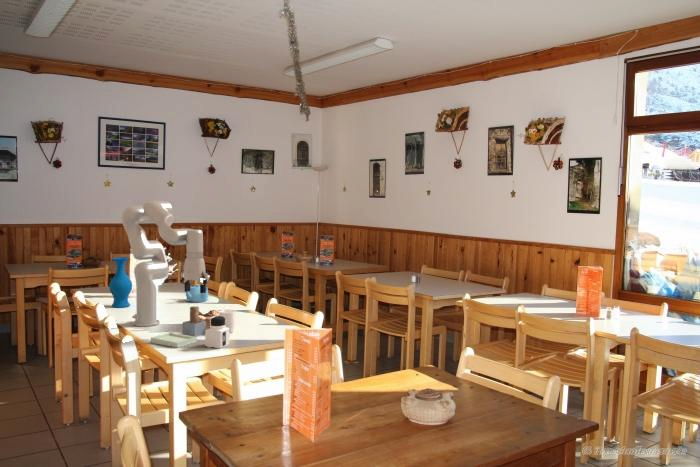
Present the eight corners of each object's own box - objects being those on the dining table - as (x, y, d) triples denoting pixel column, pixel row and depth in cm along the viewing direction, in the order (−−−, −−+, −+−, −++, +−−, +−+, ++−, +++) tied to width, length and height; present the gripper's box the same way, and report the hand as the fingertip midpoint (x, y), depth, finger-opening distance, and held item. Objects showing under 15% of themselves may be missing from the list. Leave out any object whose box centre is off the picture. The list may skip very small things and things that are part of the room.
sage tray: (150, 342, 269) (150, 337, 269) (170, 337, 279) (170, 332, 279) (177, 347, 261) (177, 342, 261) (196, 342, 272) (196, 337, 272)
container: (229, 344, 268) (229, 315, 267) (220, 348, 261) (220, 319, 260) (214, 343, 271) (214, 314, 270) (204, 347, 264) (205, 317, 263)
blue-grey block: (182, 334, 284) (182, 322, 284) (193, 331, 291) (194, 319, 291) (194, 337, 281) (194, 324, 280) (205, 333, 287) (206, 321, 287)
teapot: (210, 299, 379) (211, 282, 378) (208, 303, 364) (208, 286, 364) (186, 299, 377) (186, 282, 376) (183, 303, 362) (183, 286, 362)
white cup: (231, 334, 288) (231, 313, 287) (216, 332, 290) (216, 312, 289) (238, 330, 296) (238, 310, 295) (222, 329, 297) (223, 309, 297)
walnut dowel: (188, 334, 285) (188, 307, 284) (194, 333, 288) (194, 306, 288) (194, 335, 283) (194, 308, 282) (200, 334, 287) (200, 307, 286)
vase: (136, 306, 351) (136, 258, 349) (118, 309, 340) (117, 259, 338) (123, 303, 357) (123, 256, 355) (104, 306, 347) (104, 258, 345)
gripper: (175, 255, 284) (175, 291, 285) (203, 257, 276) (203, 294, 277) (186, 254, 291) (187, 289, 292) (214, 256, 282) (214, 292, 283)
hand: (195, 292), depth 284 cm, fingers open, 9 cm apart
